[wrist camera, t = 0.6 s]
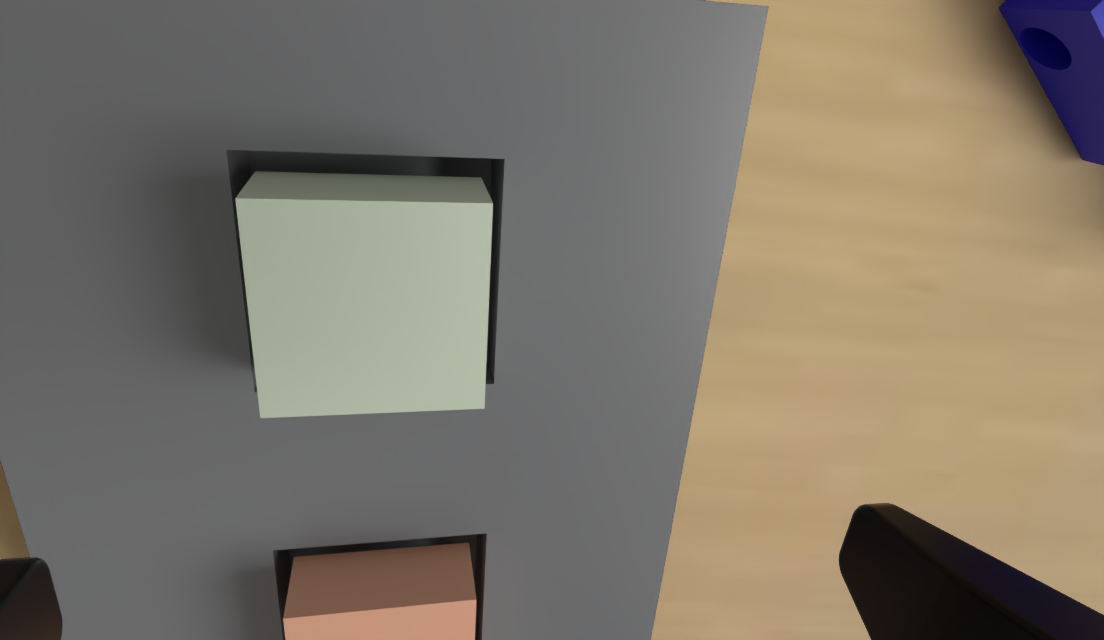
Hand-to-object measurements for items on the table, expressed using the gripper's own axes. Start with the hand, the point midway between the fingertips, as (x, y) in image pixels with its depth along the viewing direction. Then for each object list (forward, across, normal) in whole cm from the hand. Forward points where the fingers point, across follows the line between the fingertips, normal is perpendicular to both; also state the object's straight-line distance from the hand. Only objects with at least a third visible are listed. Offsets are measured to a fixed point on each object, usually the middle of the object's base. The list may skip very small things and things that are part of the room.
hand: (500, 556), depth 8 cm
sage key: (+9, +2, 0) cm, 9 cm away
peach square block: (+9, +1, +10) cm, 13 cm away
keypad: (+12, +1, +10) cm, 15 cm away
